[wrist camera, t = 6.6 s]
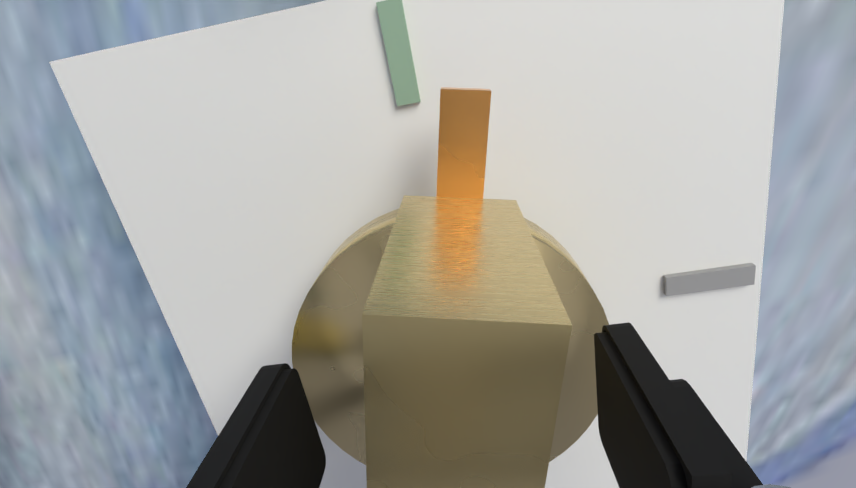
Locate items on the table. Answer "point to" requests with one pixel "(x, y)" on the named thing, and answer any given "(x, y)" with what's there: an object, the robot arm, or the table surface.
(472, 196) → the knob
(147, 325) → the table surface
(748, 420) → the base plate
